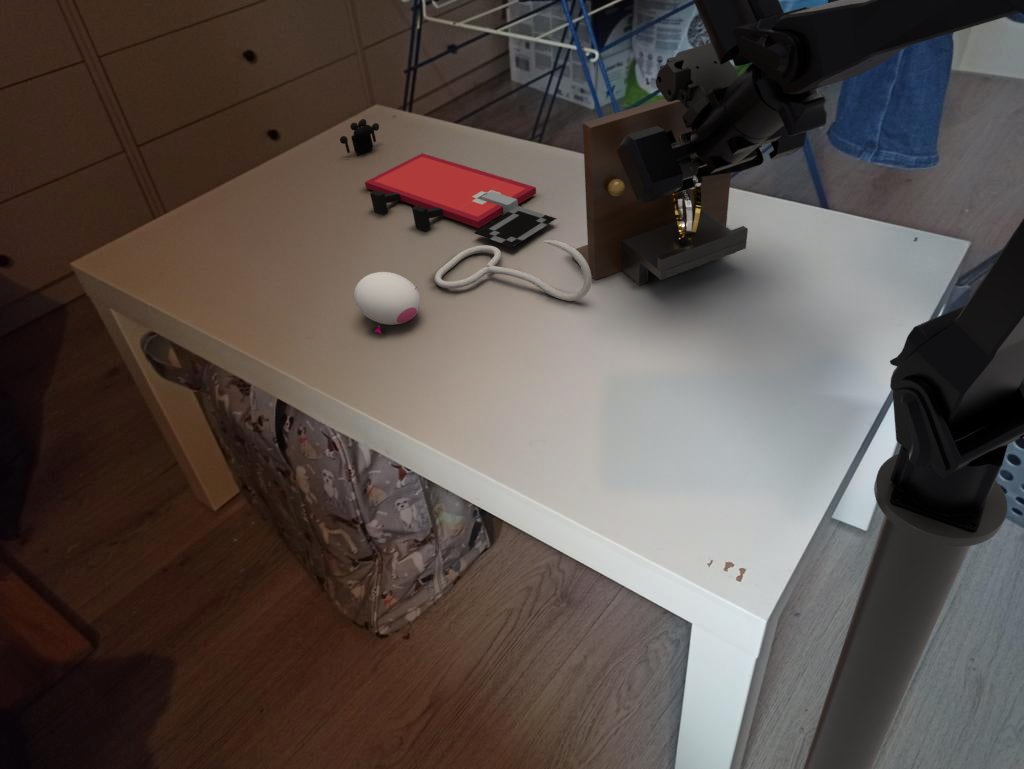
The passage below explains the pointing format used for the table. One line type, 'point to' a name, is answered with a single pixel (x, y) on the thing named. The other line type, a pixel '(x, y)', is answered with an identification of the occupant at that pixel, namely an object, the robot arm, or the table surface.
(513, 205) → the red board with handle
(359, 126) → the wireless earbuds
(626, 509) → the table surface
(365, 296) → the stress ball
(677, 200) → the ring
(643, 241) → the door rack
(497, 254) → the white cord
